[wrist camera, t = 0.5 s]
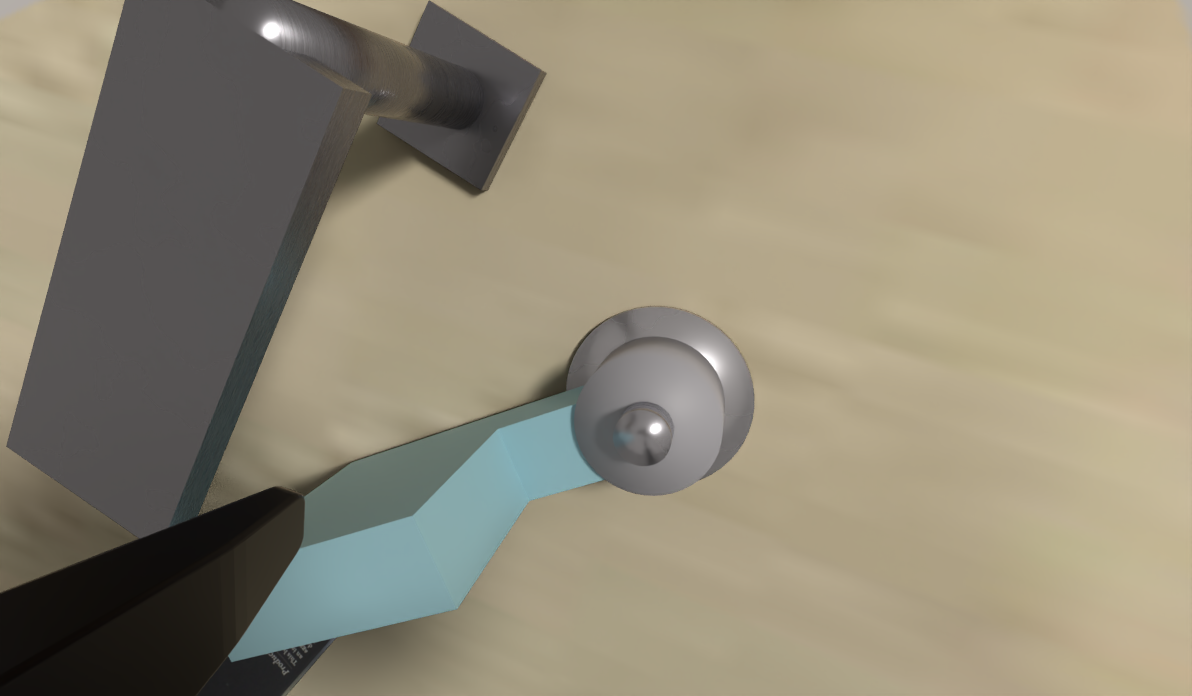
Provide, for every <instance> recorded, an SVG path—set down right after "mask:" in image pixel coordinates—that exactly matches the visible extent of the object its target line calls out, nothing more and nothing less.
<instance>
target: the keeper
mask: <svg viewBox="0 0 1192 696" xmlns="http://www.w3.org/2000/svg"><path fill="white" fill-rule="evenodd" d="M545 75H546V73H545V72H544V71H542V70H541V69H539V68H537V67H536V66H534V65H533V64H531V63H529V62H528V61H526V60H525V59H523V58H521V57H520V56H518V55H517V54H515V53H513V52H512V51H510V50H509V49H507V48H505V47H504V46H502V45H501V44H499V43H497V42H496V41H494V40H493V39H491V38H489V37H488V36H486V35H485V34H483V33H481V32H480V31H478V30H476V29H475V28H473V27H472V26H470V25H468V24H467V23H465V22H464V21H462V20H460V19H459V18H457V17H456V16H454V15H452V14H451V13H449V12H448V11H446V10H444V9H443V8H441V7H440V6H438V5H436V4H435V3H433V2H431V1H428V4H427V6H426V8H425V11H424V13H423V16H422V18H421V20H420V23H419V25H418V27H417V30H416V32H415V34H414V37H413V39H412V42H411V44H410V46H407V45H405V44H402V43H400V42H397V41H395V40H392V39H390V38H387V37H384V36H382V35H379V34H377V33H374V32H372V31H369V30H367V29H364V28H361V27H359V26H356V25H354V24H351V23H349V22H346V21H344V20H341V19H338V18H336V17H333V16H331V15H328V14H326V13H323V12H321V11H318V10H316V9H313V8H310V7H308V6H305V5H303V4H300V3H298V2H295V1H293V0H125V2H124V6H123V10H122V13H121V17H120V21H119V25H118V28H117V32H116V36H115V40H114V43H113V47H112V51H111V55H110V58H109V62H108V66H107V70H106V74H105V77H104V81H103V85H102V89H101V92H100V96H99V100H98V104H97V107H96V111H95V115H94V119H93V122H92V126H91V130H90V134H89V137H88V141H87V145H86V149H85V152H84V156H83V160H82V164H81V168H80V171H79V175H78V179H77V183H76V186H75V190H74V194H73V198H72V201H71V205H70V209H69V213H68V216H67V220H66V224H65V228H64V231H63V235H62V239H61V243H60V246H59V250H58V254H57V258H56V262H55V265H54V269H53V273H52V277H51V280H50V284H49V288H48V292H47V295H46V299H45V303H44V307H43V310H42V314H41V318H40V322H39V325H38V329H37V333H36V337H35V341H34V344H33V348H32V352H31V356H30V359H29V363H28V367H27V371H26V374H25V378H24V382H23V386H22V389H21V393H20V397H19V401H18V404H17V408H16V412H15V416H14V419H13V423H12V427H11V431H10V435H9V438H8V442H7V446H6V447H8V448H9V449H11V450H12V451H14V452H15V453H17V454H18V455H19V456H21V457H22V458H24V459H25V460H27V461H28V462H30V463H31V464H32V465H34V466H35V467H37V468H38V469H40V470H41V471H43V472H44V473H45V474H47V475H48V476H50V477H51V478H53V479H54V480H56V481H57V482H58V483H60V484H61V485H63V486H64V487H66V488H67V489H69V490H70V491H71V492H73V493H74V494H76V495H77V496H79V497H80V498H82V499H83V500H84V501H86V502H87V503H89V504H90V505H92V506H93V507H94V508H96V509H97V510H99V511H100V512H102V513H103V514H105V515H106V516H107V517H109V518H110V519H112V520H113V521H115V522H116V523H118V524H119V525H120V526H122V527H123V528H125V529H126V530H128V531H129V532H131V533H132V534H133V535H135V536H136V537H138V538H139V539H140V538H142V537H145V536H148V535H150V534H153V533H155V532H158V531H161V530H163V529H166V528H168V527H171V526H173V525H176V524H179V523H181V522H184V521H186V520H189V519H191V518H194V517H197V516H198V514H199V511H200V509H201V507H202V504H203V502H204V499H205V497H206V495H207V492H208V490H209V487H210V485H211V482H212V480H213V478H214V475H215V473H216V470H217V468H218V466H219V463H220V461H221V458H222V456H223V453H224V451H225V449H226V446H227V444H228V441H229V439H230V437H231V434H232V432H233V429H234V427H235V424H236V422H237V420H238V417H239V415H240V412H241V410H242V408H243V405H244V403H245V400H246V398H247V395H248V393H249V391H250V388H251V386H252V383H253V381H254V379H255V376H256V374H257V371H258V369H259V367H260V364H261V362H262V359H263V357H264V354H265V352H266V350H267V347H268V345H269V342H270V340H271V338H272V335H273V333H274V330H275V328H276V325H277V323H278V321H279V318H280V316H281V313H282V311H283V309H284V306H285V304H286V301H287V299H288V296H289V294H290V292H291V289H292V287H293V284H294V282H295V280H296V277H297V275H298V272H299V270H300V267H301V265H302V263H303V260H304V258H305V255H306V253H307V251H308V248H309V246H310V243H311V241H312V239H313V236H314V234H315V231H316V229H317V226H318V224H319V222H320V219H321V217H322V214H323V212H324V210H325V207H326V205H327V202H328V200H329V197H330V195H331V193H332V190H333V188H334V185H335V183H336V181H337V178H338V176H339V173H340V171H341V168H342V166H343V164H344V161H345V159H346V156H347V154H348V152H349V149H350V147H351V144H352V142H353V140H354V137H355V135H356V132H357V130H358V127H359V125H360V123H361V120H362V118H363V115H364V114H366V115H372V116H378V117H379V120H378V122H377V124H378V125H380V126H381V127H383V128H384V129H386V130H387V131H389V132H391V133H392V134H394V135H395V136H397V137H398V138H400V139H402V140H403V141H405V142H406V143H408V144H409V145H411V146H413V147H414V148H416V149H417V150H419V151H420V152H422V153H424V154H425V155H427V156H428V157H430V158H431V159H433V160H434V161H436V162H438V163H439V164H441V165H442V166H444V167H445V168H447V169H449V170H450V171H452V172H453V173H455V174H456V175H458V176H460V177H461V178H463V179H464V180H466V181H467V182H469V183H471V184H472V185H474V186H475V187H477V188H478V189H480V190H488V189H489V187H490V185H491V183H492V181H493V179H494V177H495V175H496V173H497V171H498V169H499V167H500V165H501V163H502V161H503V159H504V157H505V155H506V153H507V151H508V149H509V147H510V145H511V143H512V141H513V139H514V137H515V135H516V133H517V131H518V129H519V127H520V125H521V123H522V121H523V119H524V117H525V115H526V113H527V111H528V109H529V107H530V105H531V103H532V101H533V99H534V97H535V95H536V93H537V91H538V89H539V87H540V85H541V83H542V81H543V79H544V77H545Z"/></svg>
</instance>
